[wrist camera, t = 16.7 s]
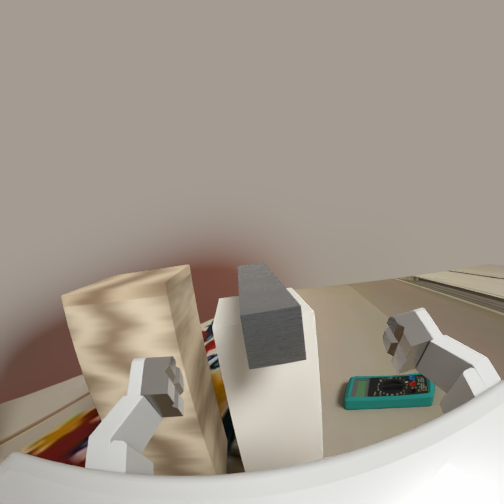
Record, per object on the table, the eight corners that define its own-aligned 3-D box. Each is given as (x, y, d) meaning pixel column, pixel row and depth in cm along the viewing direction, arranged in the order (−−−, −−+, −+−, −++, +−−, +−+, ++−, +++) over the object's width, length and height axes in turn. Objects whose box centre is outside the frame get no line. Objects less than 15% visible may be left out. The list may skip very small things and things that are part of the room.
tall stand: (144, 500, 24) (61, 295, 22) (161, 444, 36) (112, 275, 33) (226, 501, 24) (165, 282, 22) (227, 441, 36) (189, 264, 34)
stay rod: (249, 369, 14) (239, 315, 14) (241, 291, 34) (237, 266, 34) (306, 359, 15) (300, 305, 14) (267, 287, 34) (263, 262, 34)
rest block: (252, 499, 24) (212, 327, 22) (248, 448, 34) (219, 298, 32) (323, 487, 24) (314, 311, 23) (306, 438, 34) (291, 287, 33)
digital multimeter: (435, 408, 33) (437, 392, 33) (342, 412, 39) (342, 397, 39) (430, 383, 40) (432, 369, 40) (349, 388, 46) (349, 374, 46)
